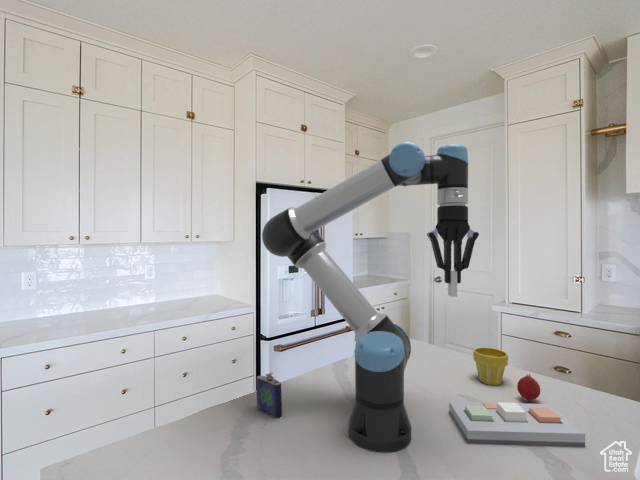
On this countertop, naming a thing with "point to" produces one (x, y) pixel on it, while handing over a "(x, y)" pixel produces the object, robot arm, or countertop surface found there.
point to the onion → (528, 388)
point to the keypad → (515, 428)
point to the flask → (269, 395)
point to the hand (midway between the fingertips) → (452, 295)
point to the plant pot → (490, 364)
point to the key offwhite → (511, 412)
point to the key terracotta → (544, 415)
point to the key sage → (478, 413)
